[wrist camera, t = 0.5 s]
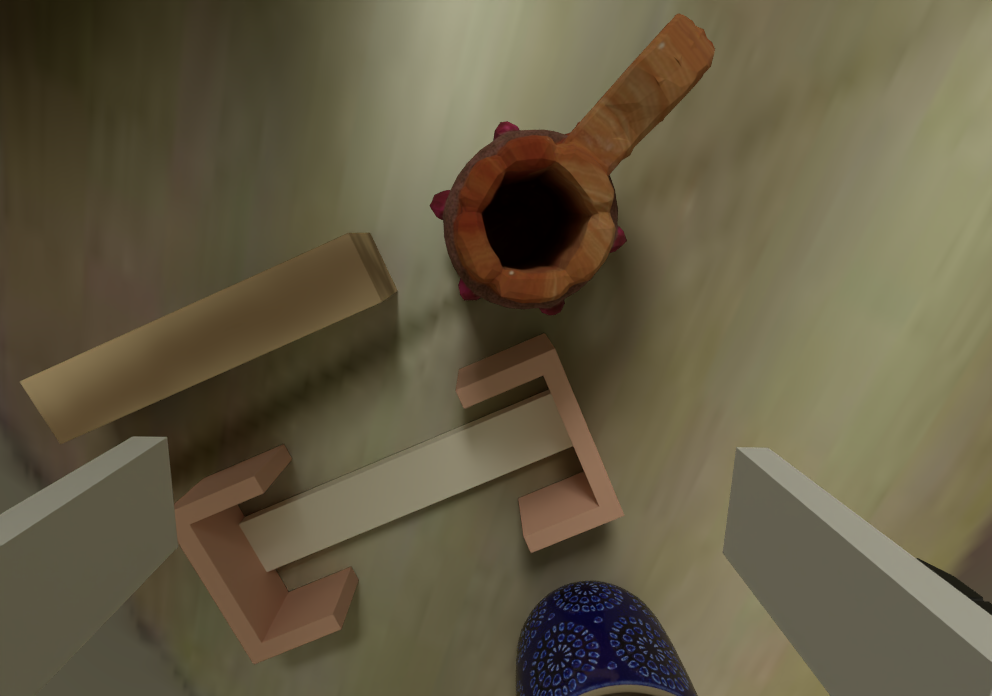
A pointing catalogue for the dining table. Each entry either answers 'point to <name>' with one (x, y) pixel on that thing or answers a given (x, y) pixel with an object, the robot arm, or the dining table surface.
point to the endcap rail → (387, 501)
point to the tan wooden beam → (211, 336)
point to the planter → (597, 647)
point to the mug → (561, 184)
